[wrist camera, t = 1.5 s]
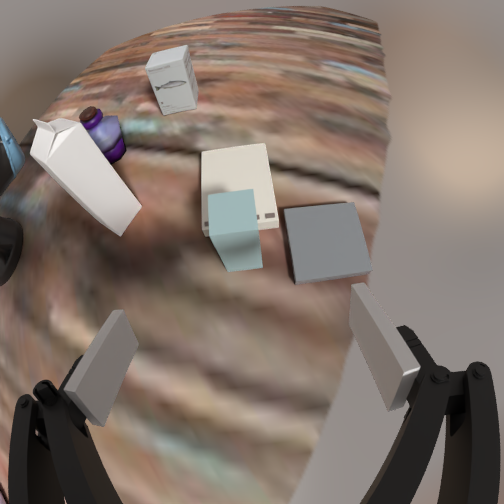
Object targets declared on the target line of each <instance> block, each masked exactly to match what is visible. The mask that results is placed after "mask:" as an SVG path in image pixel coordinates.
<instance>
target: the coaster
mask: <svg viewBox="0 0 504 504" xmlns="http://www.w3.org/2000/svg"><path fill="white" fill-rule="evenodd" d="M284 219H285V225H286V231H287V237H288V243H289V249H290V255H291V261H292V267H293V274H294V280H295V285H297V284H304V283H312V282H319V281H326V280H332V279H339V278H346V277H352V276H359V275H365V274H369V273H370V272H371V271H372V266H371V262H370V258H369V254H368V250H367V246H366V242H365V238H364V235H363V231H362V228H361V224H360V221H359V217H358V214H357V211H356V207H355V204H354V202H351V203H340V204H329V205H318V206H308V207H299V208H290V209H284Z"/></svg>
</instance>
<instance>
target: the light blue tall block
mask: <svg viewBox="0 0 504 504" xmlns="http://www.w3.org/2000/svg"><path fill="white" fill-rule="evenodd" d="M208 215H209V236H210V238H211V240H212V242H213V244H214V246H215V248H216V250H217V252H218V254H219V256H220V258H221V260H222V262H223V263H224V265H225V267H226V269H227V271H228V272H231V271H239V270H248V269H256V268H263V265H262V256H261V248H260V239H259V231H258V223H257V215H256V207H255V199H254V191H253V189H247V190H240V191H232V192H225V193H218V194H211V195H208Z"/></svg>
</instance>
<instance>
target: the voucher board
mask: <svg viewBox="0 0 504 504" xmlns="http://www.w3.org/2000/svg"><path fill="white" fill-rule="evenodd" d="M247 189H253V191H254V199H255V207H256V215H257V223H258V230H262V229H270V228H279V219H278V213H277V207H276V201H275V195H274V190H273V184H272V178H271V173H270V167H269V162H268V157H267V151H266V146H265V143H261V144H252V145H244V146H236V147H229V148H223V149H216V150H210V151H204V152H202V173H201V190H202V231H203V233H204V235H205V237H207V236H209V215H208V195H211V194H218V193H225V192H232V191H240V190H247Z"/></svg>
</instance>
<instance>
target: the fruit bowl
mask: <svg viewBox="0 0 504 504" xmlns="http://www.w3.org/2000/svg"><path fill="white" fill-rule="evenodd" d="M0 504H6V502H5V500H4V497H3V495H2V493H1V491H0Z"/></svg>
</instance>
